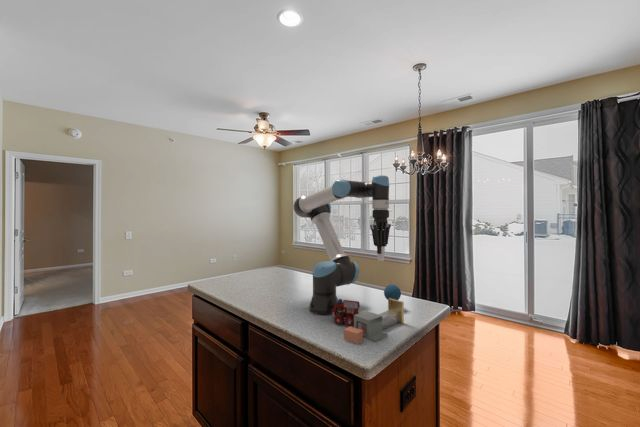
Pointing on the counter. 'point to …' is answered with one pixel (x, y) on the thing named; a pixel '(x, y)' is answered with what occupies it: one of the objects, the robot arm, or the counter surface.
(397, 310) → the shaft
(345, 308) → the toy fire truck
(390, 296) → the teal egg
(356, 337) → the block
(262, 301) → the counter surface
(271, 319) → the counter surface
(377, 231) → the robot arm
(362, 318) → the housing
